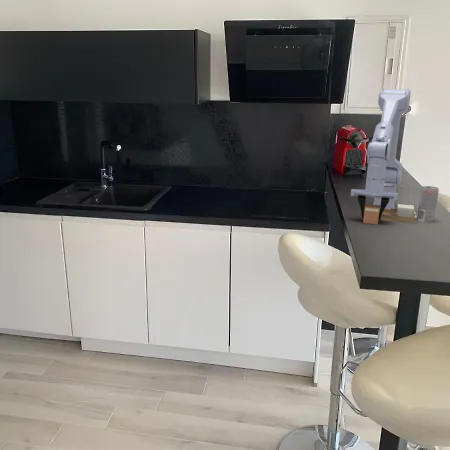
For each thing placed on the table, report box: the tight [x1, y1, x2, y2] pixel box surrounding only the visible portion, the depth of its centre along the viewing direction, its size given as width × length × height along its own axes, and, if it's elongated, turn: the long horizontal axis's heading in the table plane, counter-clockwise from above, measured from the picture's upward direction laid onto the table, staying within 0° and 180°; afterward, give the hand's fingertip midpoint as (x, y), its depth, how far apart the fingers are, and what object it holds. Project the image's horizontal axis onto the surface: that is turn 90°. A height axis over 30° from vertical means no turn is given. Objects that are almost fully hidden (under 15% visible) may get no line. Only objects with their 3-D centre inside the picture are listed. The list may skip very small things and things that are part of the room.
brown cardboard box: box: [362, 203, 380, 225], centre depth 153 cm, size 5×5×6 cm
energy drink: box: [416, 185, 440, 224], centre depth 155 cm, size 5×5×12 cm
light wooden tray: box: [379, 207, 418, 225], centre depth 159 cm, size 9×14×3 cm, turn 70°
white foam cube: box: [396, 203, 415, 217], centre depth 157 cm, size 5×5×4 cm
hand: (371, 218), depth 154 cm, fingers closed on brown cardboard box, 5 cm apart
